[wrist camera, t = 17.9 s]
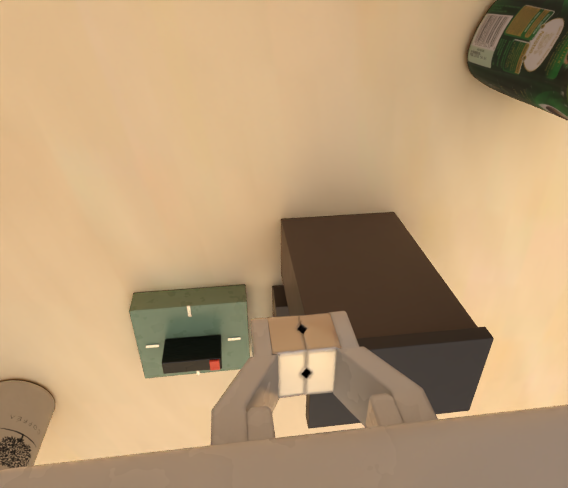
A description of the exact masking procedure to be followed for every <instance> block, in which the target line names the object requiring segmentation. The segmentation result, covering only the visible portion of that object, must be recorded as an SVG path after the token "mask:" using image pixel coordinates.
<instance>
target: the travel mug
mask: <svg viewBox="0 0 568 488" xmlns="http://www.w3.org/2000/svg"><path fill="white" fill-rule="evenodd" d="M54 409H55V402H54V399H53V397H52V396H51V394H50V393H49V392H48V391H46V390H45V389H44V388H42V387H40V386H38V385H36V384H33V383H30V382H26V381H18V380H10V381H3V382H0V469H9V468H18V467H27V466H33V465H34V462H35V460H36V457H37V454H38V452H39V449H40V446H41V444H42V441H43V438H44V436H45V433H46V430H47V428H48V425H49V422H50V420H51V417H52V414H53V412H54Z"/></svg>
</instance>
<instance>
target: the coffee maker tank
mask: <svg viewBox="0 0 568 488" xmlns="http://www.w3.org/2000/svg"><path fill="white" fill-rule="evenodd" d="M281 276H282V281H283V286H284V290H285V295H286V300H287V305H288V310H289V315H290V316H299V315H309V314H320V313H329V312H338V311H345V312H346V313H347V316H348V318H349V321H350V323H351V326H352V329H353V331H354V334H355V337H356V339H357V342H358V344H359V347H365V348H367V349H368V350H370V351H371V352H372V353H374V354H375V355H377V356H378V357H379V358H381V359H382V360H384V361H385V362H386V363H388V364H389V365H391V366H392V367H393V368H395V369H396V370H398V371H399V372H400V373H402V374H403V375H405V376H406V377H407V378H409V379H410V380H412V381H413V382H414V383H416V384H417V385H419V386H420V387H421V388H423V390H424V392H425V394H426V396H427V398H428V400H429V402H430V404H431V406H432V408H433V410H434V412H435V414H442V413H451V412H460V411H468V410H469V409H470V406H471V403H472V400H473V397H474V394H475V392H476V389H477V386H478V383H479V380H480V377H481V374H482V371H483V368H484V365H485V362H486V359H487V356H488V353H489V351H490V348H491V345H492V342H493V337H492V335H491V334H490V333H489V331H488V330H487V329H486V327H477V326H476V324H475V323H474V321H473V320H472V319H471V317H470V316H469V315H468V313H467V312H466V310H465V309H464V308H463V306H462V305H461V304H460V302H459V301H458V299H457V298H456V297H455V295H454V294H453V293H452V291H451V290H450V288H449V287H448V286H447V284H446V283H445V282H444V280H443V279H442V277H441V276H440V275H439V273H438V272H437V271H436V269H435V268H434V266H433V265H432V264H431V262H430V261H429V259H428V258H427V257H426V255H425V254H424V253H423V251H422V250H421V248H420V247H419V246H418V244H417V243H416V242H415V240H414V239H413V237H412V236H411V235H410V233H409V232H408V231H407V229H406V228H405V226H404V225H403V224H402V222H401V221H400V220H399V218H398V217H397V215H396V214H395V213H394V212H389V213H373V214H356V215H340V216H323V217H306V218H290V219H281ZM306 419H307V424H308V428H317V427H326V426H335V425H344V424H353V423H361V422H360V421H359V420H358V419H357V418H356V417H355V416H354V415H353V414H352V413H351V412H350V411H349V410H348V409H347V408H346V407H345V406H344V405H343V404H342V402H341V401H340V400H339V399H338V398H337V397H336V396H335V395H334V394H333V393H320V394H307V395H306Z"/></svg>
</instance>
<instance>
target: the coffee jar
mask: <svg viewBox="0 0 568 488" xmlns="http://www.w3.org/2000/svg"><path fill="white" fill-rule="evenodd" d="M467 63H468V67H469V70H470V72H471V73H472V75H473V76H474V77H475V78H476V79H478V80H479V81H481V82H482V83H484V84H485V85H487V86H489V87H490V88H492V89H495V90H497V91H499V92H501V93H503V94H505V95H508V96H510V97H512V98H515V99H517V100H520V101H522V102H525V103H528V104H530V105H533V106H535V107H538V108H540V109H542V110H545V111H547V112H549V113H552V114H554V115H556V116H559V117H561V118H563V119H565V120H568V0H497V1H496V2H495V3H494V4H493V5H492V6H491V8H490V9H489V10H488V12H487V13H486V15H485V16H484V17H483V19H482V21H481V22H480V24H479V26H478V27H477V30H476V32H475V34H474V36H473V39H472V41H471V44H470V47H469V51H468V56H467Z"/></svg>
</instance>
